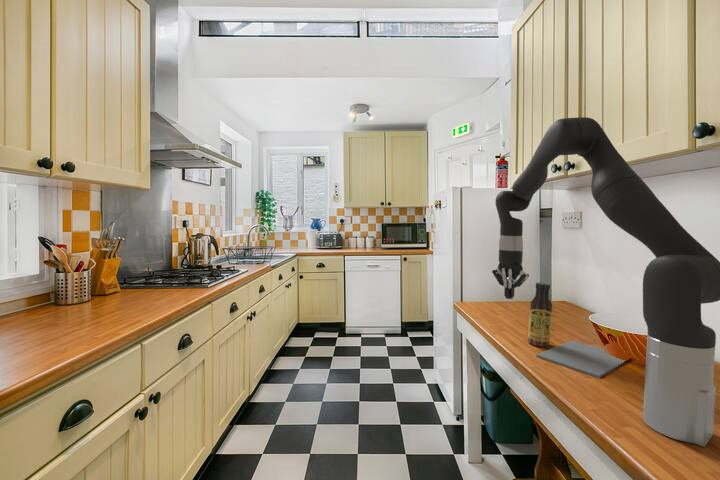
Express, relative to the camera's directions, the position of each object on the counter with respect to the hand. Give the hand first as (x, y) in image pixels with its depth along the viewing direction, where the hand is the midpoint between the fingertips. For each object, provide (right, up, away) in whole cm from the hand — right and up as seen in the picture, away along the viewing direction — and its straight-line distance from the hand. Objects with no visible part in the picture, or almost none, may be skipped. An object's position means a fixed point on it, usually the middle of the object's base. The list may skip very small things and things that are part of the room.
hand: (509, 298), depth 116 cm
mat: (+13, -14, -19) cm, 27 cm away
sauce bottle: (+6, -14, -8) cm, 17 cm away
